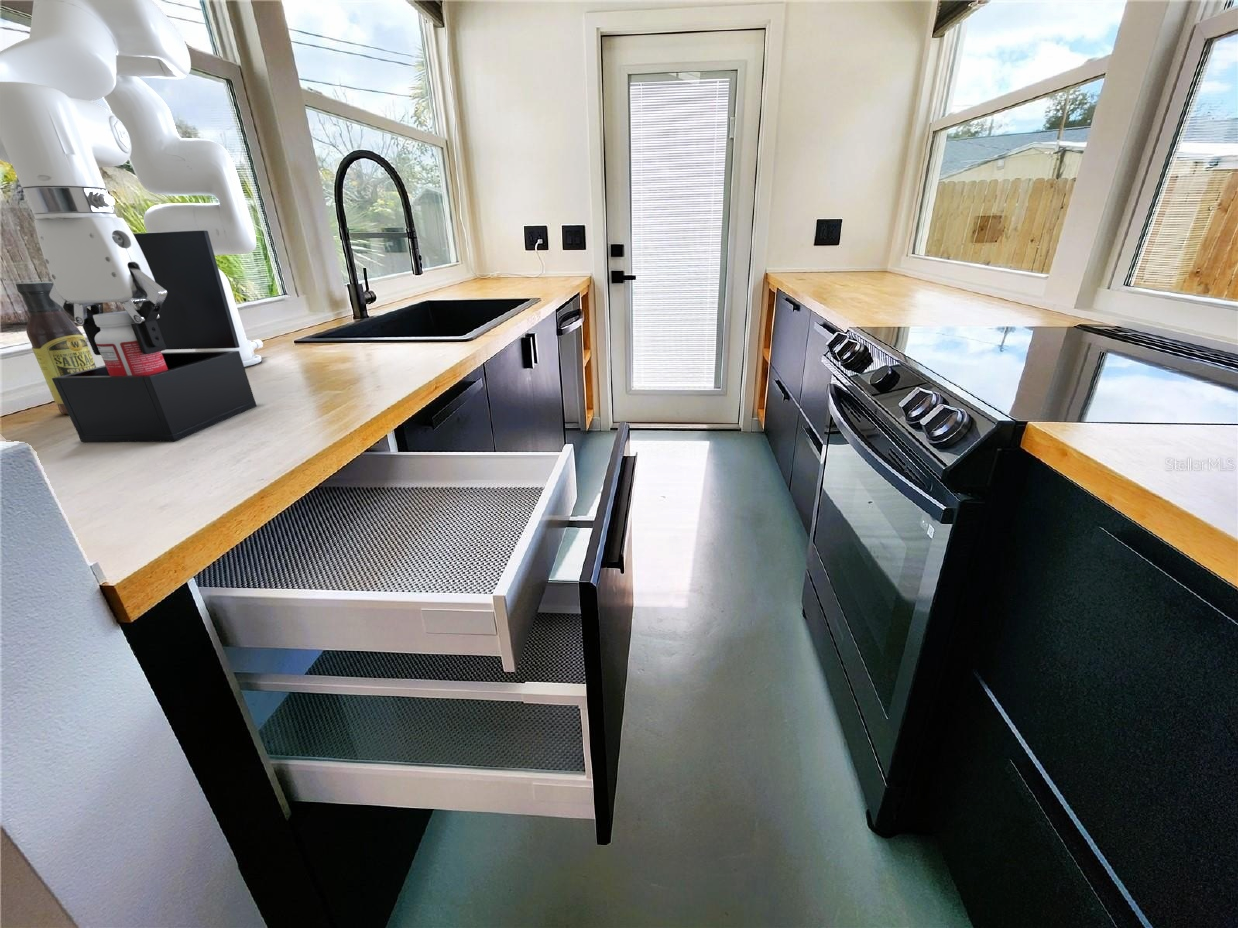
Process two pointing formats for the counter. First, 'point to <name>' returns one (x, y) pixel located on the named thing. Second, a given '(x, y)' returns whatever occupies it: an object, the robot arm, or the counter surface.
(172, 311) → the black box lid
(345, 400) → the counter surface
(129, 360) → the pill bottle
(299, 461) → the counter surface
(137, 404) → the black storage box
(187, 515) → the counter surface
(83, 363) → the sauce bottle
